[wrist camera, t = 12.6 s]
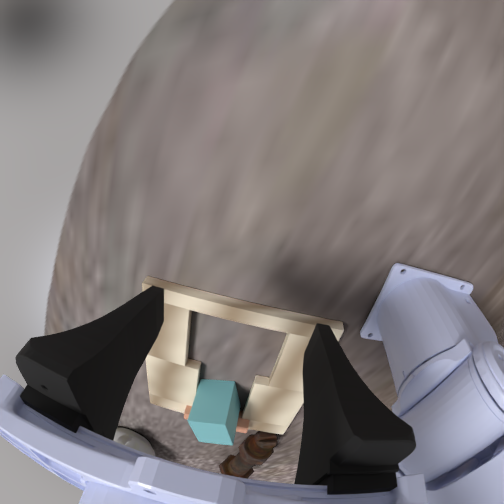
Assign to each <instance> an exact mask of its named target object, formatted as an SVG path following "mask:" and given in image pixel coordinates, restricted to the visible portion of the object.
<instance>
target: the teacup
mask: <svg viewBox="0 0 504 504" xmlns="http://www.w3.org/2000/svg"><path fill="white" fill-rule="evenodd" d="M113 441H115V442H117V443H120V444H122V445H125V446H127V447H130V448H133V449H135V450H138V451H141V452H144V453H147V454H150V455H152V456H155V452H154V450H153V448H152V447H151V444H150V443H149V441H148V440H147V439H145V438H144V437H143V436H141V435H139V434H138V433H136V432H134V431H132V430H129V429H126V428H117V429H116V433H115V436H114V440H113Z"/></svg>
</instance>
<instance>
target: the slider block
mask: <svg viewBox="0 0 504 504" xmlns="http://www.w3.org/2000/svg"><path fill="white" fill-rule="evenodd" d="M240 406H241V405H240V401H239V397H238V392H237V388H236V384H235V381H222V380H208V379H201V380H200V383H199V386H198V389H197V392H196V395H195V398H194V402H193V405H192V408H191V411H190V414H189V417H188V420H187V421H188V422H189V424H190V426H191V428H192V430H193V432H194V434H195V435H196V437H197V439H198V441H199V442H206V443H215V444H224V445H233V442H234V437H235V432H236V427H237V422H238V416H239V411H240Z"/></svg>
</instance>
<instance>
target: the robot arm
mask: <svg viewBox="0 0 504 504" xmlns="http://www.w3.org/2000/svg"><path fill="white" fill-rule="evenodd" d="M402 269H405V270H404V271H403V272H401V270H402ZM462 285H463V286H462ZM461 286H462V287H461ZM472 290H473V285H472V284H471V283H469V282H466V281H463V280H459V279H455V278H452V277H448V276H445V275H441V274H438V273H434V272H430V271H427V270H423V269H419V268H416V267H412V266H408V265H405V264H401V263H396V264H394V265H393V266H392V268H391V270H390V273H389V275H388V277H387V279H386V281H385V283H384V286H383V288H382V290H381V292H380V294H379V296H378V298H377V300H376V302H375V304H374V306H373V308H372V310H371V312H370V314H369V316H368V318H367V320H366V322H365V323H364V325H363V327H362V329H361V331H360V335H361V337H362V338H366V339H372V340H378V341H383V344H384V347H385V351H386V354H387V358H388V361H389V365H390V368H391V372H392V376H393V380H394V384H395V388H396V392H397V396H398V399H397V401H396V402H395V403H394V404H393V405H392V411H391V410H389V409H388V408H387V407H386V406H385V405H384V404H383V403H382V402H381V401H380V400H379V399H378V398H377V397H376V396H375V395H374V394H373V393H372V392H371V390H370V389H369V388H368V387H367V386H366V384H365V383H364V382H363V381H362V379H361V378H360V377H359V375H358V374H357V372H356V371H355V369H354V368H353V367H352V365H351V363H350V362H349V360H348V358H347V357H346V355H345V353H344V352H343V350H342V348H341V346H340V344H339V342H338V341H337V339H336V337H335V335H334V333H333V331H332V329H331V327H330V326H329V325H325V324H320V323H317V324H316V326H315V329H314V331H313V333H312V336H311V338H310V340H309V343H308V345H307V347H306V350H305V352H304V359H303V371H302V372H303V398H304V422H303V432H302V441H301V449H300V456H299V462H298V468H297V473H296V478H295V483H294V484H287V483H277V482H268V481H260V480H253V479H247V478H240V477H235V476H229V475H224V474H219V473H215V472H210V471H206V470H201V469H197V468H193V467H189V466H186V465H182V464H178V463H175V462H172V461H168V460H165V459H162V458H159V457H156V456H152V455H150V454H147V453H144V452H141V451H138V450H135V449H133V448H130V447H127V446H125V445H122V444H120V443H117V442H115V441H113V440H114V436H115V433H116V429H117V426H118V422H119V419H120V416H121V413H122V410H123V407H124V404H125V402H126V399H127V396H128V394H129V391H130V389H131V386H132V384H133V381H134V379H135V377H136V375H137V373H138V371H139V369H140V367H141V366H142V364H143V362H144V360H145V359H146V357H147V355H148V353H149V352H150V350H151V348H152V346H153V344H154V343H155V341H156V339H157V337H158V335H159V332H160V330H161V327H162V325H163V322H164V288H160V287H156V286H153V285H152V286H151V287H149V288H148V289H146V290H145V291H143V292H142V293H140V294H139V295H137V296H136V297H134V298H133V299H131V300H130V301H128V302H127V303H125V304H124V305H122V306H120V307H119V308H117V309H115V310H114V311H112V312H110V313H108V314H107V315H105V316H103V317H101V318H99V319H97V320H94V321H92V322H90V323H88V324H85V325H82V326H80V327H77V328H74V329H71V330H68V331H64V332H61V333H57V334H52V335H47V336H41V337H34V338H31V339H30V340H29V341H28V342H27V343H26V345H25V346H24V347H23V348H22V349H21V351H20V352H19V353H18V354H17V356H16V364H17V366H18V368H19V370H20V372H21V374H22V376H23V377H24V379H25V381H26V383H27V384H28V385H27V386H26V388H25V389H24V388H23V387H22V386H21V385H19V384H18V383H17V382H15V381H14V380H12V379H11V378H9V377H8V376H7V375H5V374H3V375H2V377H1V378H0V435H1V436H2V437H3V438H4V439H6V440H7V441H8V442H9V443H11V444H12V445H13V446H15V447H16V448H17V449H19V450H20V451H21V452H23V453H24V454H26V455H27V456H28V457H30V458H31V459H33V460H34V461H35V462H37V463H38V464H40V465H41V466H43V467H45V468H46V469H47V470H49V471H50V472H52V473H54V474H55V475H57V476H59V477H60V478H62V479H63V480H66V481H67V482H68V483H70V484H72V485H74V486H76V487H78V488H79V489H81V490H83V491H84V492H83V494H82V497H81V499H80V502H79V504H504V348H503V347H502V346H501V345H500V344H498V340H497V336H496V334H495V332H494V330H493V328H492V327H491V325H490V324H489V322H488V321H487V319H486V318H485V316H484V315H483V313H482V312H481V310H480V309H479V308H478V306H477V305H476V303H475V302H474V301H473V299H472V298H471V296H470V293H471V292H472ZM370 333H372V334H370ZM368 334H370V335H368Z"/></svg>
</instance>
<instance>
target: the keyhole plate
mask: <svg viewBox="0 0 504 504" xmlns="http://www.w3.org/2000/svg"><path fill="white" fill-rule="evenodd" d="M152 285H153V286H156V287H160V288H164V322H163V325H162V327H161V330H160V332H159V335H158V337H157V339H156V341H155V343H154V344H153V346H152V348H151V350H150V352H149V353H148V355H147V357H146V367H147V377H148V386H149V395H150V403H152V404H155V405H158V406H161V407H164V408H167V409H171V410H174V411H177V412H181V413H184V419H187V420H188V417H189V414H190V411H191V408H192V405H193V402H194V398H195V395H196V392H197V389H198V385H199V377H200V368H201V362H200V361H196V360H193V359H189V358H188V351H189V339H190V327H191V316H192V311H196V312H200V313H204V314H207V315H211V316H215V317H219V318H223V319H227V320H232V321H236V322H240V323H244V324H248V325H253V326H257V327H262V328H266V329H271V330H275V331H280V332H285V333H287V335H286V337H285V340H284V343H283V345H282V348H281V350H280V353H279V355H278V358H277V361H276V363H275V366H274V368H273V371H272V373H271V375H270V378H269V377H264V376H259V375H256V376H255V379H254V382H253V385H252V388H251V390H250V393H249V396H248V399H247V402H246V404H245V407H244V410H243V411H241V410H240V411H239V416H238V422H237V427H236V431H237V432H242V433H246V432H247V430H248V429H252V430H257V431H263V432H269V433H275V434H282V435H283V434H284V432H285V431H286V429H287V428H288V426H289V425H290V423H291V422H292V420H293V419H294V417H295V416H296V414H297V412H298V411H299V409H300V408H301V406H302V404H303V403H304V398H303V372H302V371H303V359H304V352H305V350H306V347H307V345H308V343H309V340H310V338H311V336H312V333H313V331H314V329H315V326H316V324H317V323H320V324H325V325H329V326H330V327H331V329H332V331H333V333H334V335H335V337H336V339H337V341H339V339H340V337H341V335H342V334H343V332H344V328H343V322H341V321H336V320H330V319H325V318H320V317H316V316H311V315H306V314H301V313H296V312H292V311H287V310H282V309H278V308H273V307H269V306H265V305H260V304H256V303H251V302H247V301H243V300H239V299H235V298H230V297H226V296H222V295H218V294H214V293H210V292H206V291H202V290H198V289H194V288H191V287H187V286H183V285H179V284H175V283H172V282H168V281H164V280H161V279H157V278H153V277H150V276H147V277H146V279H145V280H144V281H143V283H142V292H143V291H145V290H146V289H148V288H149V287H151V286H152Z"/></svg>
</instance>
